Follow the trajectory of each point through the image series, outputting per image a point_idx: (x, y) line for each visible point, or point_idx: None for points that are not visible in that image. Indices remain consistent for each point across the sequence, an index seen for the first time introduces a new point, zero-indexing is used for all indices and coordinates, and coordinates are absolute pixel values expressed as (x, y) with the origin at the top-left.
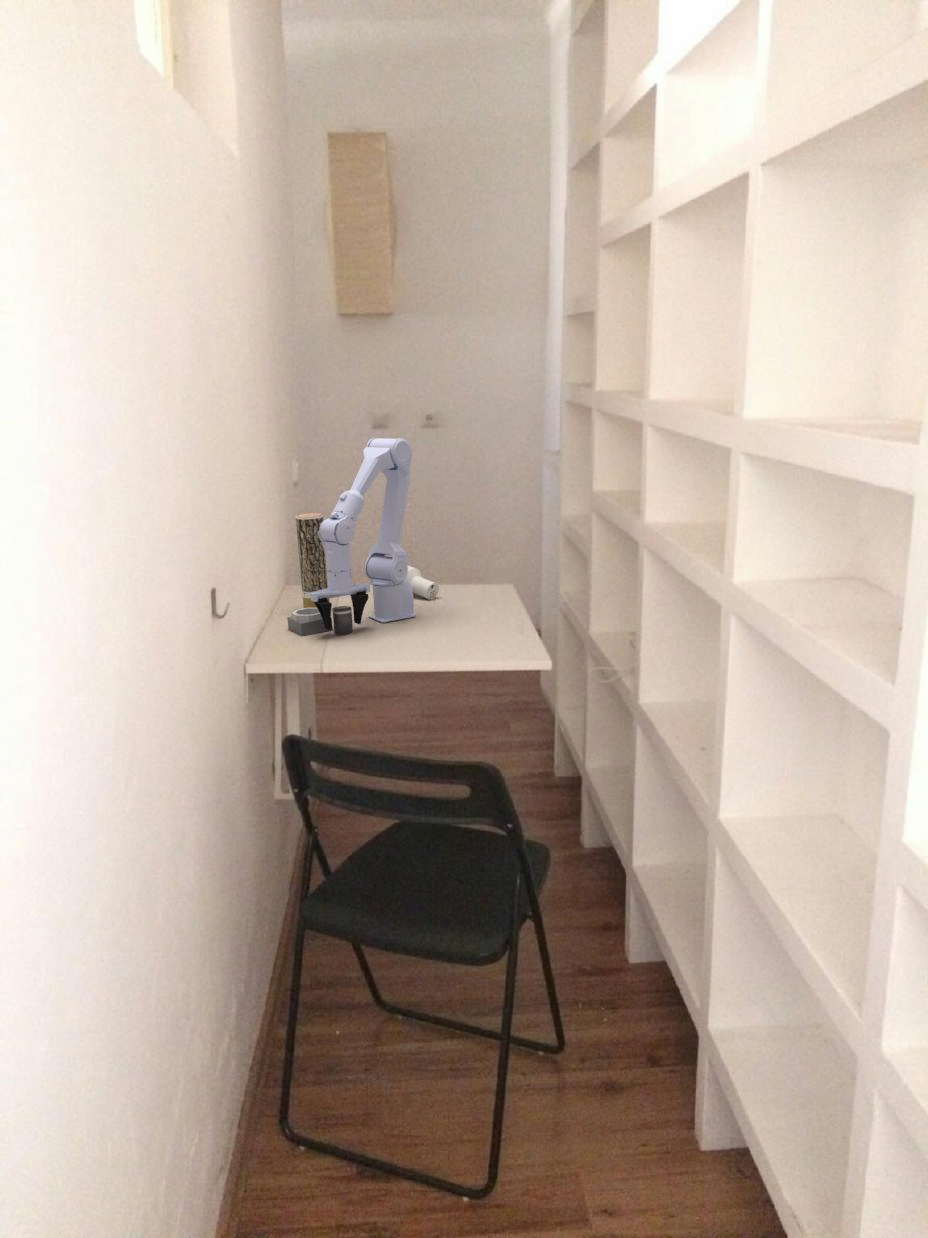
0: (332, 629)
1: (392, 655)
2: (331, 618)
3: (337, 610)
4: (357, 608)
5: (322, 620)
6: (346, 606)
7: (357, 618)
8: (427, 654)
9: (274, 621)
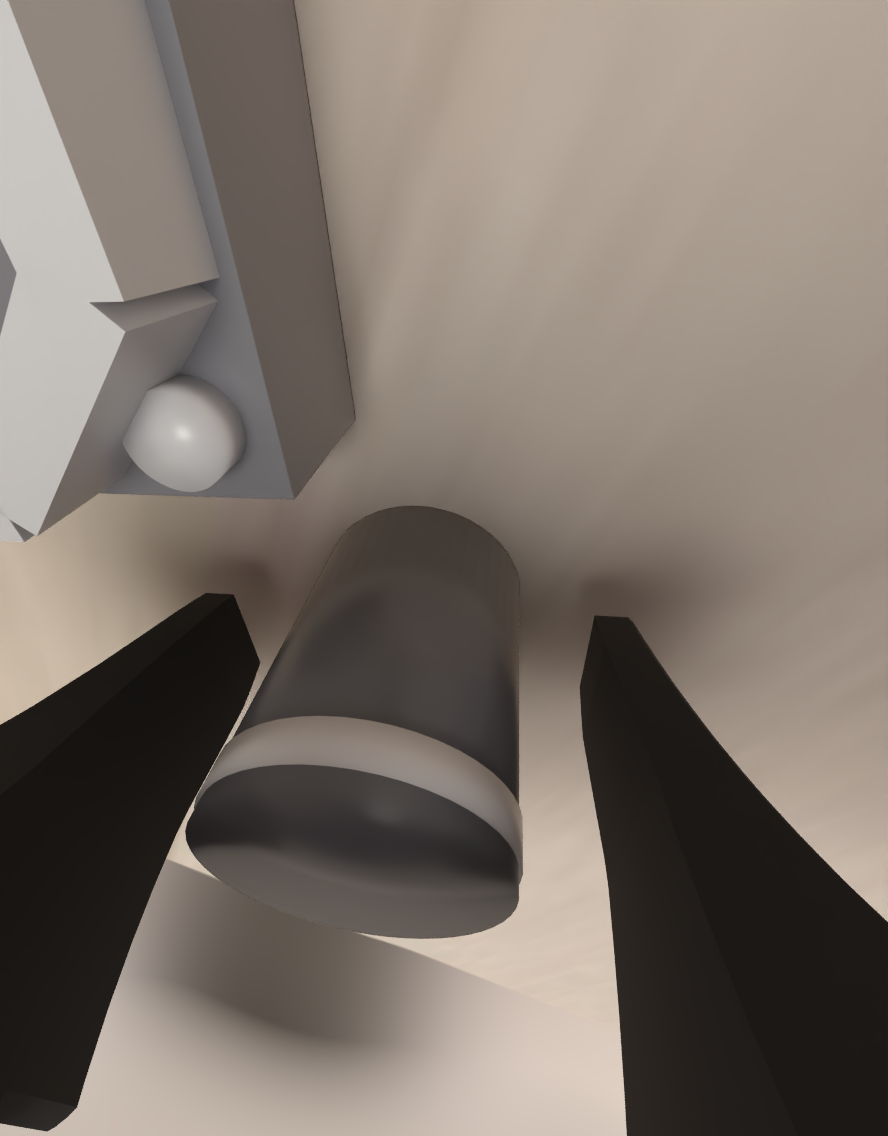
0: (352, 420)
1: (451, 937)
2: (294, 492)
3: (254, 895)
4: (623, 889)
5: (138, 485)
6: (474, 865)
7: (592, 734)
8: (562, 978)
9: None
